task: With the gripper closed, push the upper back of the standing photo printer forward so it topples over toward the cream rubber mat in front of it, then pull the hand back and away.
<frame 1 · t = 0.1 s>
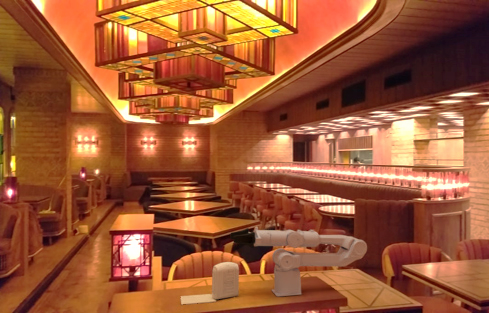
hand: (232, 237, 150), 22 cm above the table, tool horizontal, fingers open, 7 cm apart
photo printer: (225, 297, 150), on the table, touching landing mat
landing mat: (197, 299, 148), on the table
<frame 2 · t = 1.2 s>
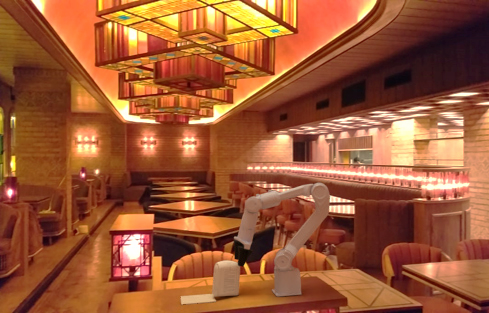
hand: (238, 262, 156), 11 cm above the table, tool tilted 15°, fingers open, 7 cm apart
photo printer: (225, 296, 150), on the table, touching gripper
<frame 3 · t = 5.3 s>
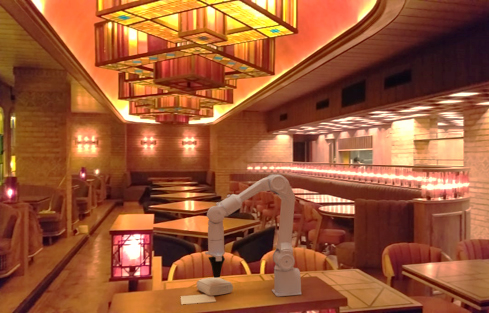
hand: (216, 277, 149), 7 cm above the table, tool pointing down, fingers closed
photo printer: (221, 289, 152), point 2 cm above the table, touching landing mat
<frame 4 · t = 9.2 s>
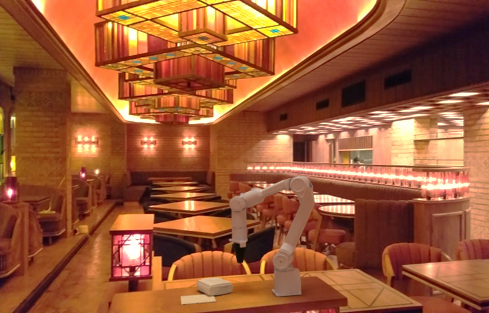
hand: (240, 262, 158), 10 cm above the table, tool pointing down, fingers closed
nothing on the table moved.
at the end: photo printer tilted 91°; photo printer inside the target area (6.5 cm from its centre), point 2.3 cm above the table; the gripper is holding nothing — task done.
